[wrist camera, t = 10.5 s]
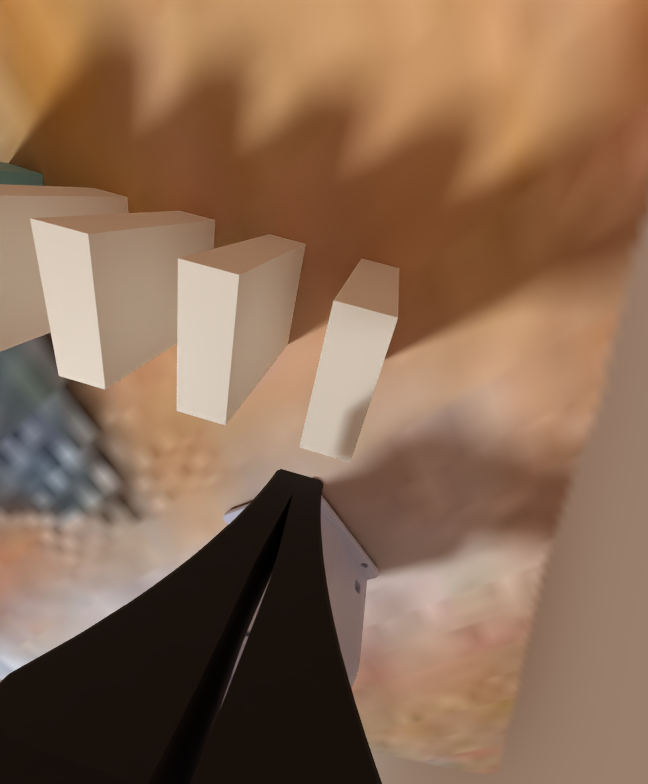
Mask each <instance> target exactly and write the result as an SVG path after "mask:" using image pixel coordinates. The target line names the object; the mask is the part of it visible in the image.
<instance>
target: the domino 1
mask: <svg viewBox="0 0 648 784" xmlns="http://www.w3.org/2000/svg"><path fill="white" fill-rule="evenodd" d="M0 184H7V185H34V186H44V183H43V175H42V174H41V173H38V172H35V171H32V170H29V169H26V168H23V167H20V166H16V165H13V164H10V163H3V162H0Z"/></svg>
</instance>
